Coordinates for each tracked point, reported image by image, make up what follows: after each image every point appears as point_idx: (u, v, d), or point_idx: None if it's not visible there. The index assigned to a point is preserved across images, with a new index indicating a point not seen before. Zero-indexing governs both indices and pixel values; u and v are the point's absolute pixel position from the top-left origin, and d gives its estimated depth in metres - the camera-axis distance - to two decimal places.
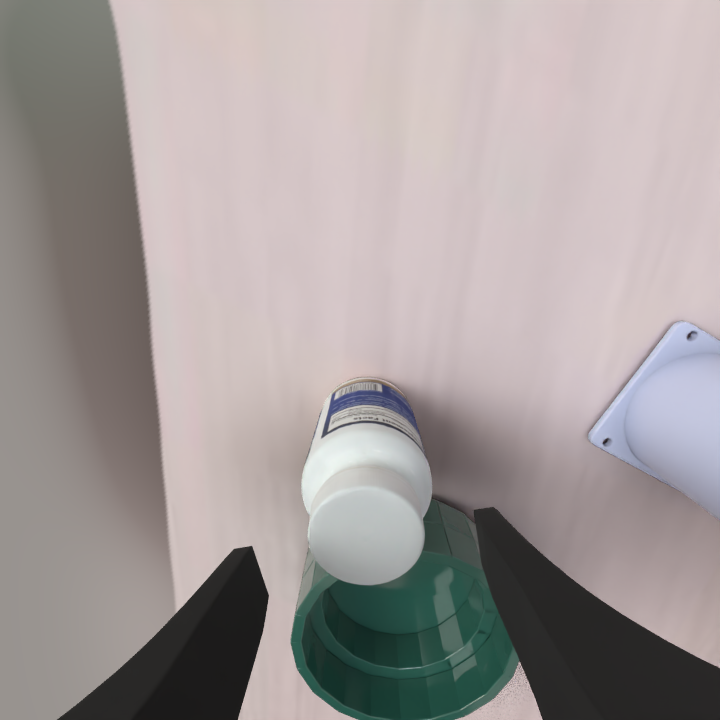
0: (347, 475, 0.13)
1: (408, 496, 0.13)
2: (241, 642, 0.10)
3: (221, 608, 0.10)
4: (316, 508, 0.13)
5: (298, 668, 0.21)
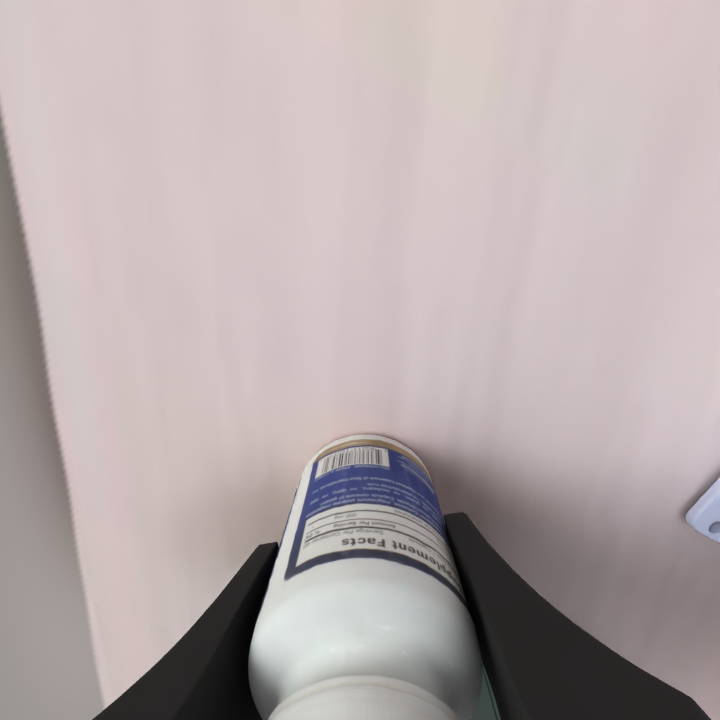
0: (325, 715, 0.06)
1: None
2: None
3: (252, 603, 0.10)
4: None
5: None
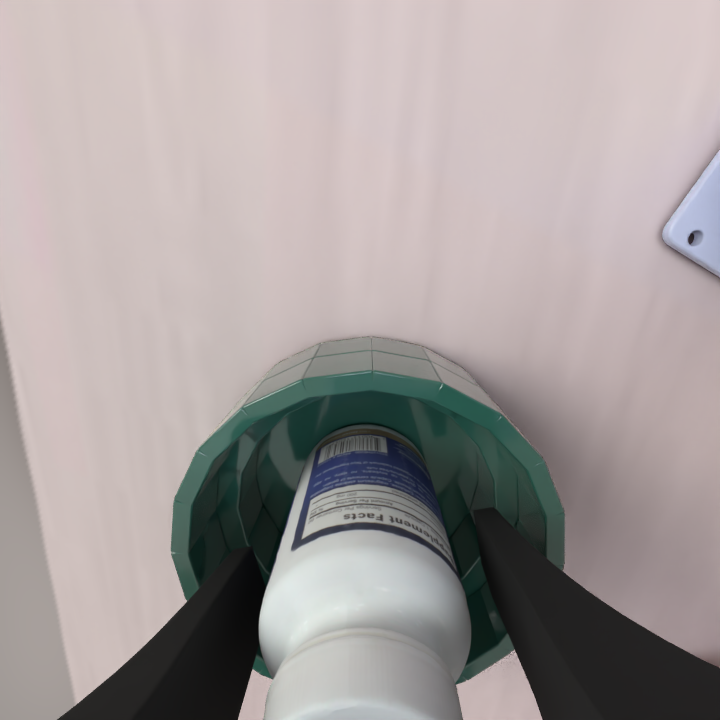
0: (329, 659, 0.07)
1: (441, 707, 0.07)
2: (241, 642, 0.10)
3: (221, 608, 0.10)
4: None
5: None
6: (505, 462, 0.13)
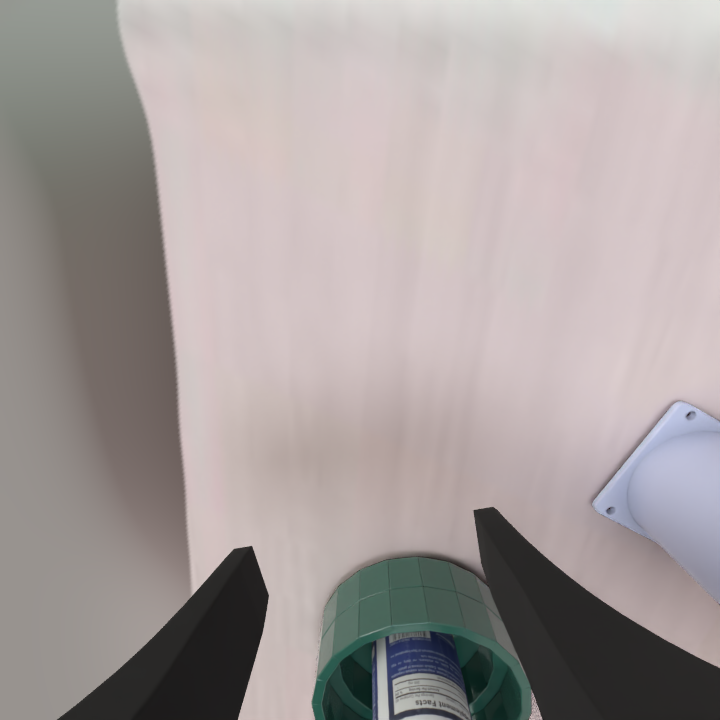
0: None
1: None
2: (241, 642, 0.10)
3: (221, 608, 0.10)
4: None
5: None
6: None
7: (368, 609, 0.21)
